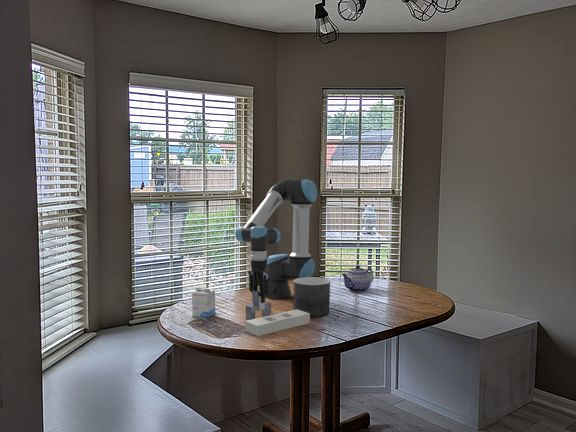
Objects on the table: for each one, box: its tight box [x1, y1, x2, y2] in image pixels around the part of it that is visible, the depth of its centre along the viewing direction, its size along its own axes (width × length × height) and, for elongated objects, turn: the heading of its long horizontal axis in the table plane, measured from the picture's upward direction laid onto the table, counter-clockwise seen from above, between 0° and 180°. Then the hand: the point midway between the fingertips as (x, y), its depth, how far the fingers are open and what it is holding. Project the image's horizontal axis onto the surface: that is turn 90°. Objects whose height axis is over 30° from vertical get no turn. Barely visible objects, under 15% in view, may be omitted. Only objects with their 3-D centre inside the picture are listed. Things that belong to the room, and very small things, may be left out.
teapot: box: [341, 264, 374, 293], centre depth 304 cm, size 25×15×15 cm, turn 125°
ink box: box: [191, 287, 216, 318], centre depth 251 cm, size 9×8×13 cm
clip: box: [245, 289, 272, 321], centre depth 247 cm, size 12×4×13 cm, turn 131°
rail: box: [244, 309, 311, 337], centre depth 233 cm, size 30×9×4 cm, turn 131°
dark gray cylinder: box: [293, 276, 331, 318], centre depth 257 cm, size 18×18×16 cm
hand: (258, 308), depth 247 cm, fingers closed on clip, 4 cm apart
